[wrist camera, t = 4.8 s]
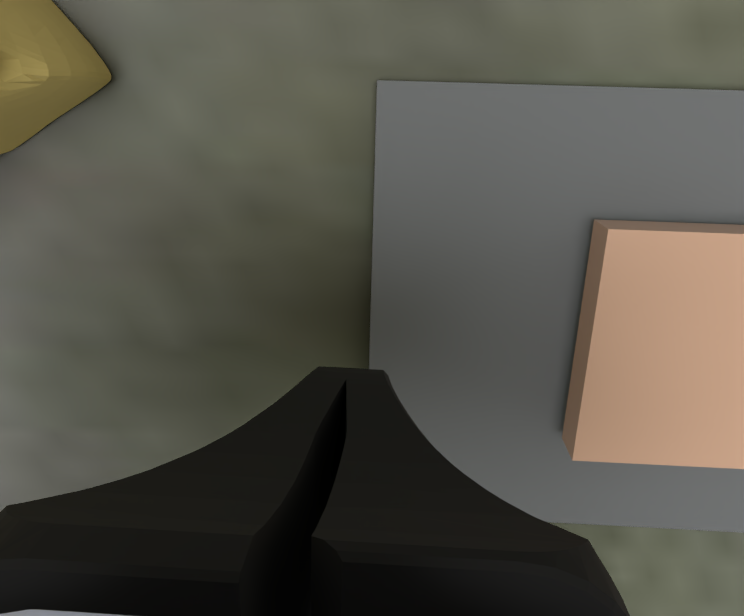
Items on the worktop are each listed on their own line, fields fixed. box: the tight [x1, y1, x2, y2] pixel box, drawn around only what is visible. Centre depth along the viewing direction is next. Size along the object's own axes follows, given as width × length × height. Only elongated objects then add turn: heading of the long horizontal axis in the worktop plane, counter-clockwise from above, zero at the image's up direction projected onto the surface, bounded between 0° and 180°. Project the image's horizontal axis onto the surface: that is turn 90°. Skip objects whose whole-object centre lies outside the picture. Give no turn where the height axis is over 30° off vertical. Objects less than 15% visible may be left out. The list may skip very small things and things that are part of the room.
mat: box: [369, 80, 744, 532], centre depth 16 cm, size 12×13×1 cm
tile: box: [562, 219, 744, 469], centre depth 15 cm, size 6×1×7 cm
